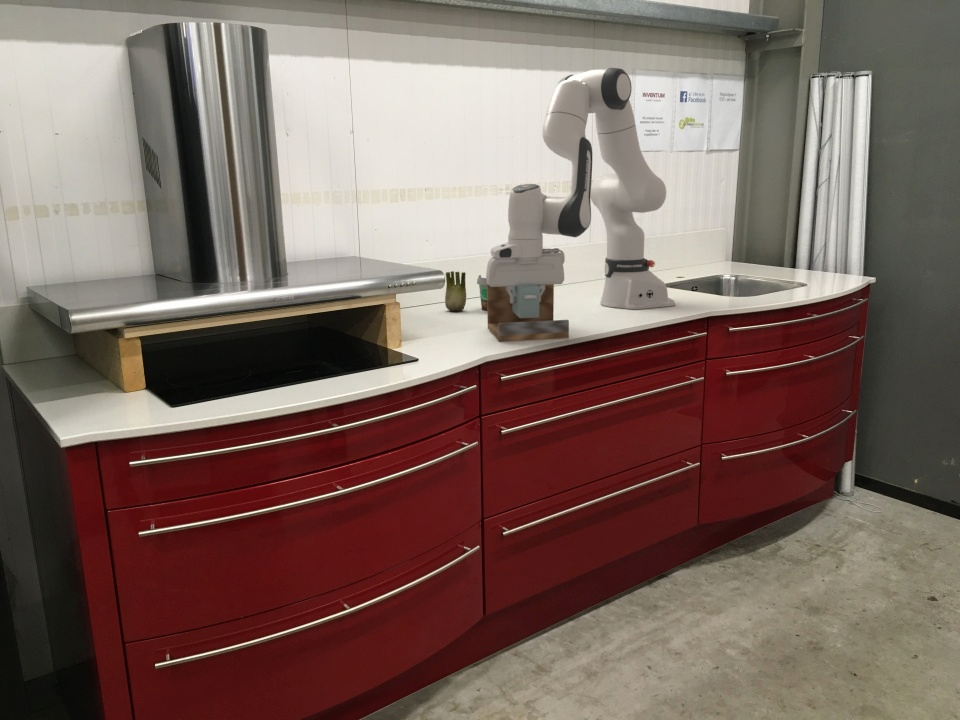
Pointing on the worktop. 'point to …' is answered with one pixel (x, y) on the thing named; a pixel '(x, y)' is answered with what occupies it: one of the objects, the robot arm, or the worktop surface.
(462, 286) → the fennel bulb
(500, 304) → the wooden l-shaped stand
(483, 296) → the food container
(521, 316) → the mini cabinet
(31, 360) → the worktop surface
